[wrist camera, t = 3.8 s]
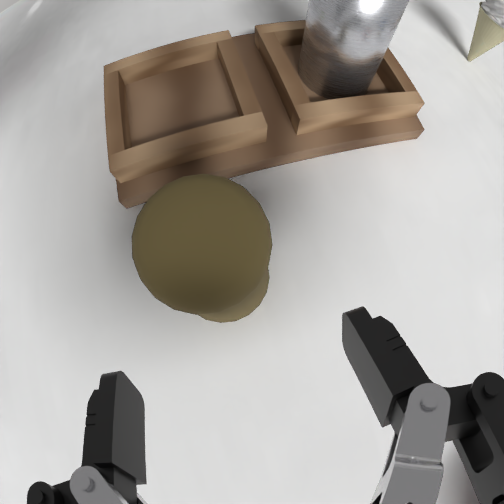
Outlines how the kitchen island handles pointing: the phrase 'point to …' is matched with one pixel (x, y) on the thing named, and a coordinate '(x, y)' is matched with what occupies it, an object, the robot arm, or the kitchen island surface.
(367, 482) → the kitchen island surface
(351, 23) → the steel billet
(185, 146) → the brown wooden flat tray
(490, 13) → the ice cream cone
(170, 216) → the cork
